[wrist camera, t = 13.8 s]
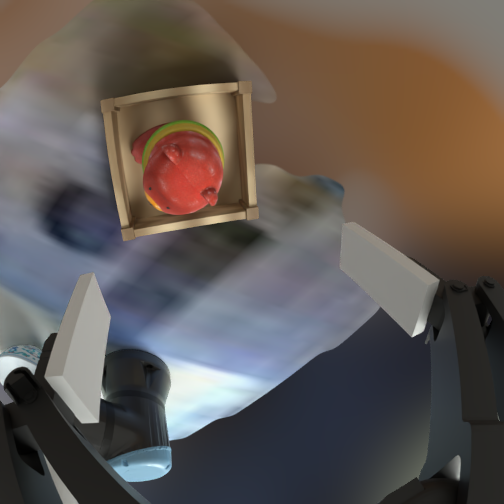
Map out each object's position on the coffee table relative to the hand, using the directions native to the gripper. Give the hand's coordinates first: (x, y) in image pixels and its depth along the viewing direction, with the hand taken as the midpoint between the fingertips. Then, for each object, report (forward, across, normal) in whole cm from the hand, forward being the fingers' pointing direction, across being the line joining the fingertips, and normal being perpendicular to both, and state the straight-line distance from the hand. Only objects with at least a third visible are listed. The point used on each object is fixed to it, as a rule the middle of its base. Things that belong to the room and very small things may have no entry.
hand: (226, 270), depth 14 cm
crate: (+29, 0, +3) cm, 29 cm away
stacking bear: (+28, -1, +3) cm, 28 cm away
